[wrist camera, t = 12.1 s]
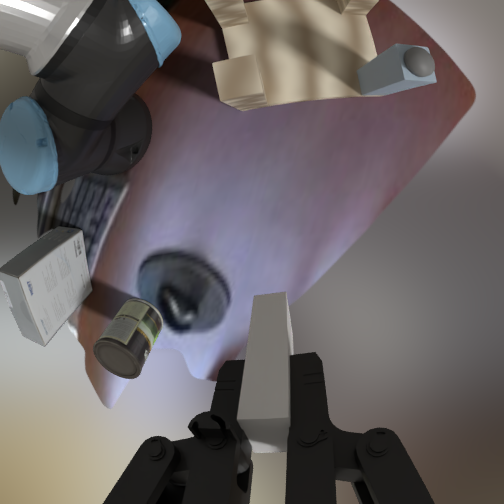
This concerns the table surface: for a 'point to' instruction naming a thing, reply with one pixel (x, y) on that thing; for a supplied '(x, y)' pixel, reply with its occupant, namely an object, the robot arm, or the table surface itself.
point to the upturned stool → (291, 50)
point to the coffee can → (129, 338)
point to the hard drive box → (47, 283)
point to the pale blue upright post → (397, 70)
